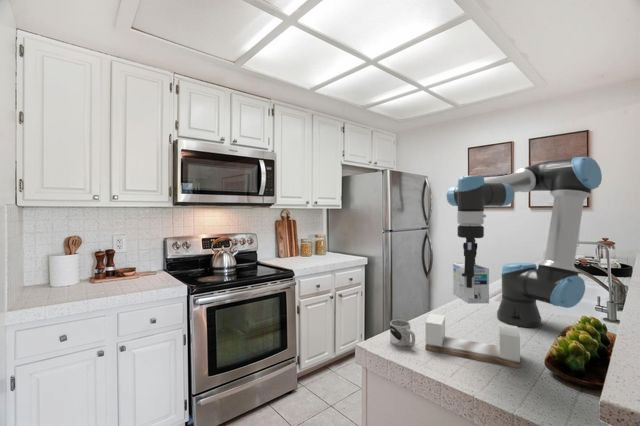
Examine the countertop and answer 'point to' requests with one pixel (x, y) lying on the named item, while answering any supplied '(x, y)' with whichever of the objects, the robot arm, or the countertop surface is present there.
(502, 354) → the mounted modules
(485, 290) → the light bulb box
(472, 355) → the rail board
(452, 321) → the countertop surface
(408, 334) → the mug
